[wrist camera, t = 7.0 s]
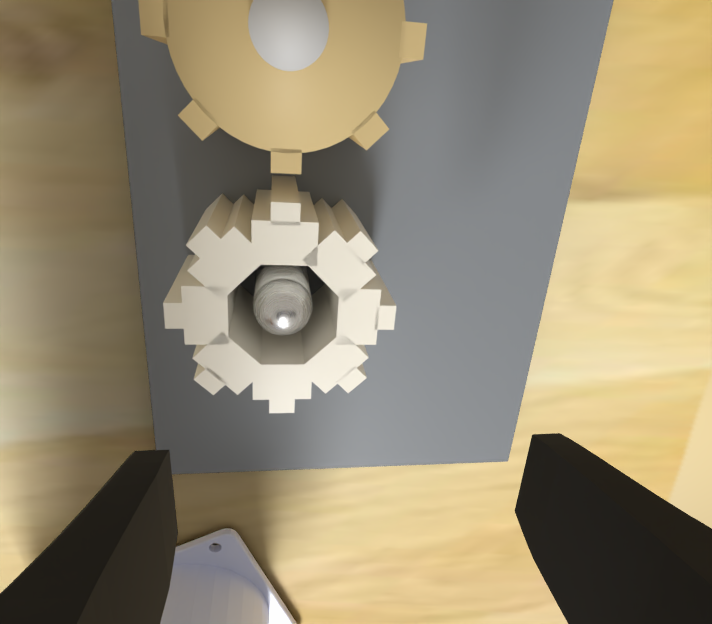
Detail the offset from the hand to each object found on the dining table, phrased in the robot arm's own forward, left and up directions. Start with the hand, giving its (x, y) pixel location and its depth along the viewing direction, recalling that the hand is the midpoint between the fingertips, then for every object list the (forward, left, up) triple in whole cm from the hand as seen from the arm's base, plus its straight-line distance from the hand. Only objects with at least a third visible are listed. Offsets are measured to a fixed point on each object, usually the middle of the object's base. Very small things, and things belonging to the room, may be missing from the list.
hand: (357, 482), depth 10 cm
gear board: (+2, +3, -9) cm, 10 cm away
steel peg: (-1, +2, -9) cm, 10 cm away
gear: (-1, +2, -8) cm, 9 cm away
